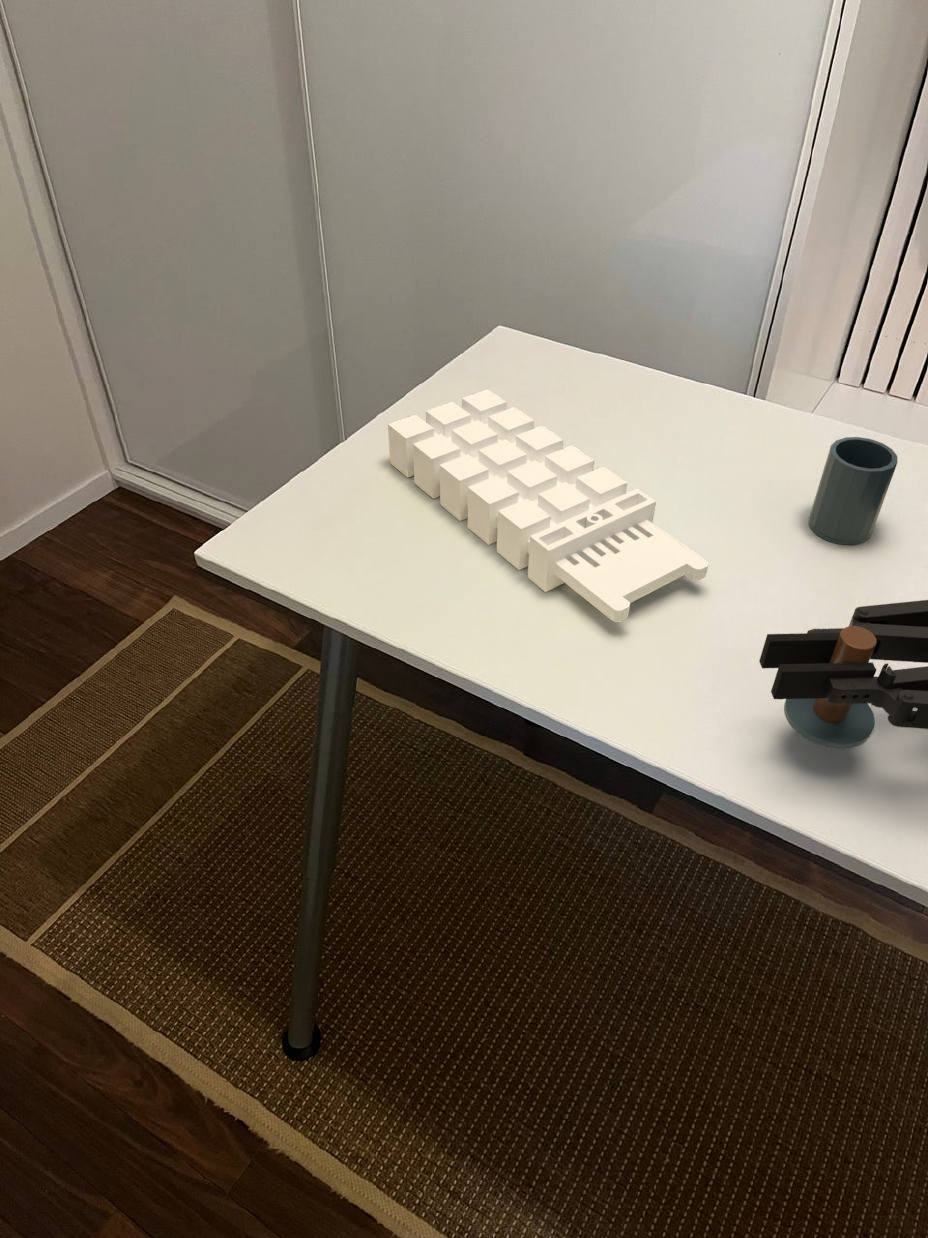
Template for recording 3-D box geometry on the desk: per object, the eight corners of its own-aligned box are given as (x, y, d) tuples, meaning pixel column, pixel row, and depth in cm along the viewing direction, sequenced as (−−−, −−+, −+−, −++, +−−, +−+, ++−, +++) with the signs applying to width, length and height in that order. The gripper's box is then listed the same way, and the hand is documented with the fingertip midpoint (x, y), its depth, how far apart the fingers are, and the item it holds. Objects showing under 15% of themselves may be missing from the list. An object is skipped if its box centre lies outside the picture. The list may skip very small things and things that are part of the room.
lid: (870, 702, 72) (906, 617, 66) (870, 764, 68) (908, 678, 62) (784, 683, 74) (812, 599, 68) (779, 742, 69) (808, 657, 63)
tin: (871, 515, 95) (897, 442, 90) (871, 549, 91) (898, 475, 85) (810, 504, 97) (831, 432, 91) (807, 538, 93) (829, 464, 87)
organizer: (487, 389, 105) (721, 545, 84) (486, 426, 108) (712, 586, 87) (387, 424, 99) (612, 600, 78) (390, 463, 102) (606, 642, 81)
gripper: (1131, 778, 64) (789, 786, 63) (1023, 626, 75) (733, 632, 75) (1189, 702, 59) (818, 710, 58) (1063, 552, 70) (752, 557, 70)
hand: (771, 666), depth 67 cm, fingers closed on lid, 2 cm apart
